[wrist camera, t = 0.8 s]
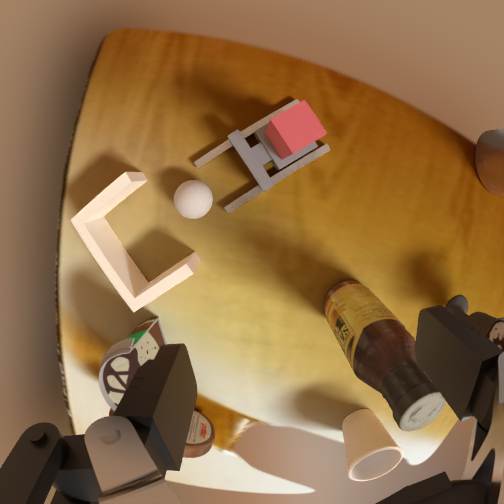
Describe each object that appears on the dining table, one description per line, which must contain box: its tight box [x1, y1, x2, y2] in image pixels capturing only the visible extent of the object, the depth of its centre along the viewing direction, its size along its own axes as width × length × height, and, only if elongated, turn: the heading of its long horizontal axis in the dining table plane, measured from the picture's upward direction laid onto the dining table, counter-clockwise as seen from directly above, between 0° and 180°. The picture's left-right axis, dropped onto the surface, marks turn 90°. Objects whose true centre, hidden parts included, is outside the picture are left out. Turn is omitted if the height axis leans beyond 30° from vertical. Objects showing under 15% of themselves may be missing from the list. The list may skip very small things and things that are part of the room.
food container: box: [99, 317, 167, 411], centre depth 32 cm, size 12×6×10 cm, turn 9°
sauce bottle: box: [324, 280, 446, 431], centre depth 26 cm, size 7×6×20 cm
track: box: [194, 99, 330, 214], centre depth 31 cm, size 13×7×1 cm, turn 123°
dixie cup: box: [342, 409, 403, 481], centre depth 36 cm, size 8×8×10 cm
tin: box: [109, 408, 215, 458], centre depth 35 cm, size 15×3×8 cm, turn 70°
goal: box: [71, 172, 201, 313], centre depth 31 cm, size 8×12×5 cm
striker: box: [228, 100, 327, 192], centre depth 25 cm, size 7×6×10 cm
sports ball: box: [174, 180, 213, 219], centre depth 30 cm, size 4×4×4 cm
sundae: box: [446, 296, 504, 351], centre depth 29 cm, size 7×7×15 cm
